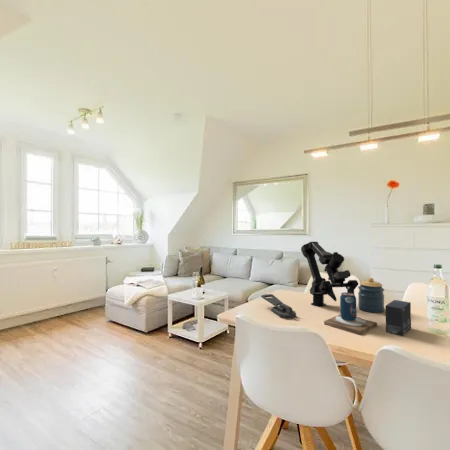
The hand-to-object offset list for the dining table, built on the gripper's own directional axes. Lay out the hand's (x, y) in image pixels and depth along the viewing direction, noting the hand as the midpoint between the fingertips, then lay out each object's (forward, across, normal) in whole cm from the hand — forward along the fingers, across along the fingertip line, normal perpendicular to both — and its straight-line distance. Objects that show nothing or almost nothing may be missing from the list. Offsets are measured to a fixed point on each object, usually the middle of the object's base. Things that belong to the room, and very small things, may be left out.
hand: (344, 300), depth 135 cm
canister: (-4, +25, +19) cm, 31 cm away
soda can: (+9, -1, +2) cm, 9 cm away
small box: (+17, +18, -2) cm, 25 cm away
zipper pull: (-6, -28, +22) cm, 36 cm away
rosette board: (+10, 0, +4) cm, 11 cm away
